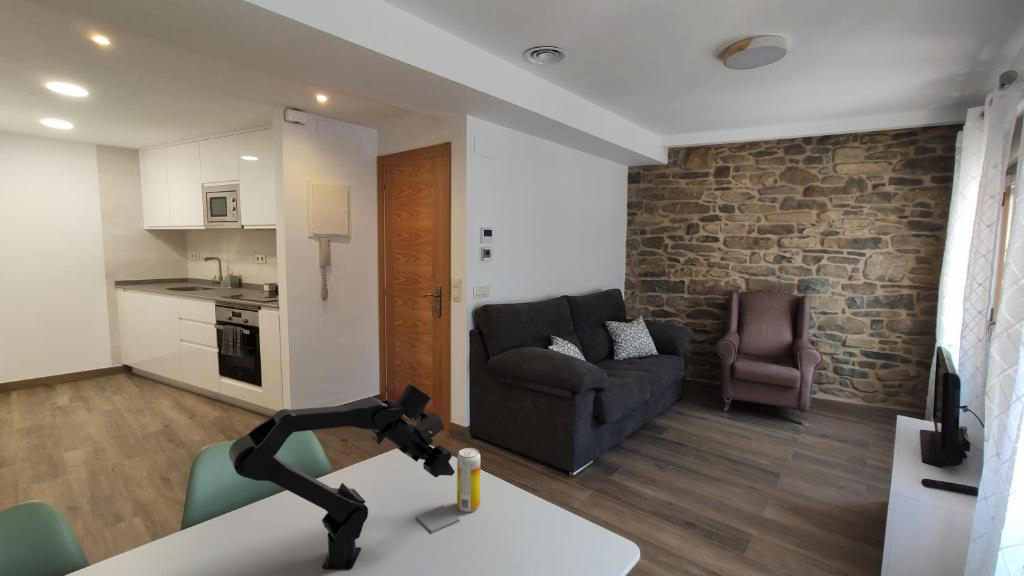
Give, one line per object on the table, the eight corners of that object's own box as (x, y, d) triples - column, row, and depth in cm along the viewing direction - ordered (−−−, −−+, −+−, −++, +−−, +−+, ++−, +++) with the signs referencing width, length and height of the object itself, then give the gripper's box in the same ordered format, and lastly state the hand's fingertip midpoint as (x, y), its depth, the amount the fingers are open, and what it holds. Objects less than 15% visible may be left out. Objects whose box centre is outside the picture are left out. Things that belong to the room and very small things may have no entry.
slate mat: (431, 533, 112) (431, 531, 112) (415, 518, 118) (415, 516, 118) (459, 521, 117) (459, 519, 117) (443, 507, 123) (443, 505, 123)
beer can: (481, 501, 126) (482, 448, 125) (477, 514, 120) (478, 458, 119) (459, 499, 127) (459, 446, 125) (454, 512, 121) (454, 456, 119)
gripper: (444, 417, 105) (483, 451, 113) (406, 396, 119) (443, 427, 127) (413, 461, 101) (456, 493, 109) (377, 433, 115) (417, 463, 123)
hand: (443, 466), depth 117 cm, fingers open, 9 cm apart
